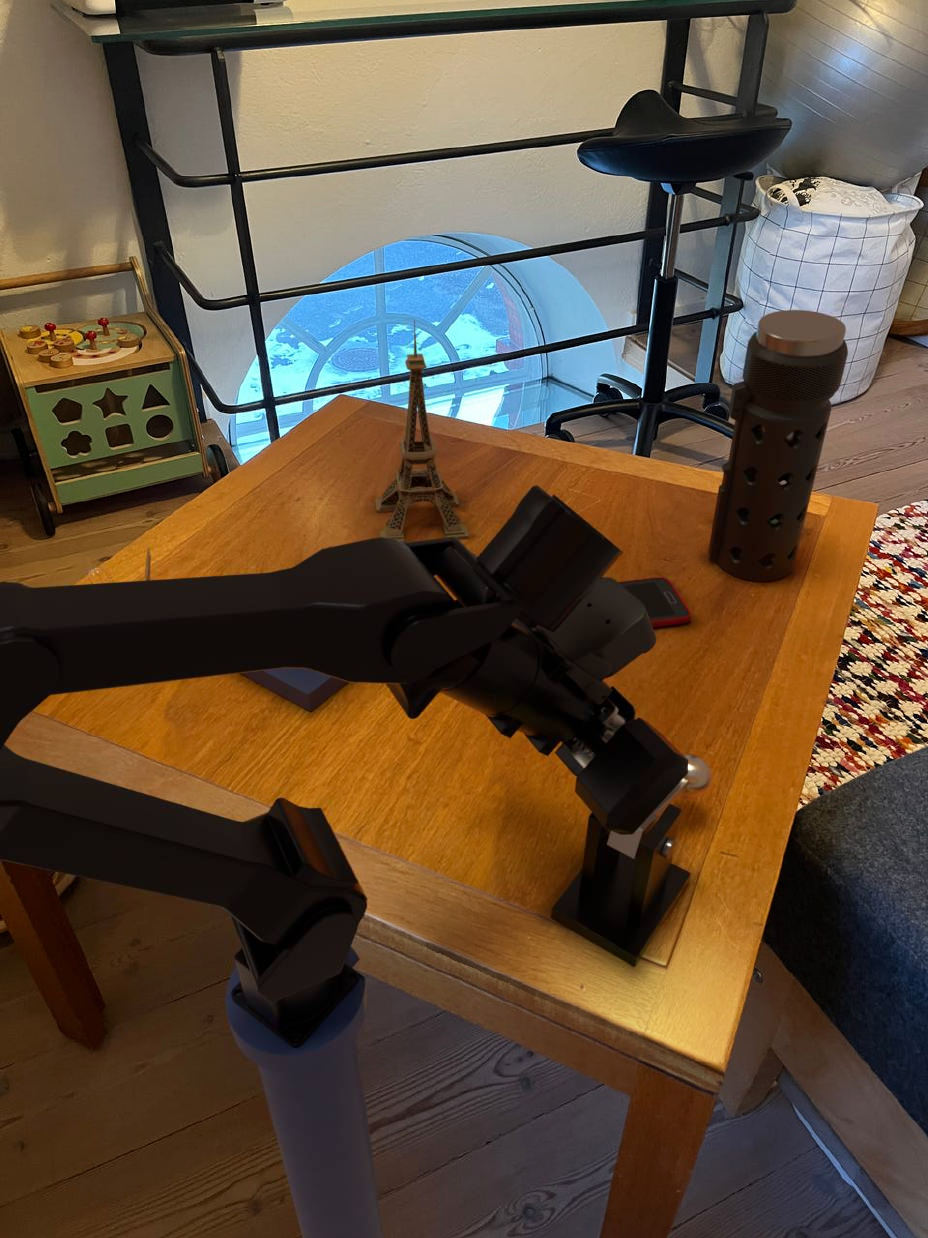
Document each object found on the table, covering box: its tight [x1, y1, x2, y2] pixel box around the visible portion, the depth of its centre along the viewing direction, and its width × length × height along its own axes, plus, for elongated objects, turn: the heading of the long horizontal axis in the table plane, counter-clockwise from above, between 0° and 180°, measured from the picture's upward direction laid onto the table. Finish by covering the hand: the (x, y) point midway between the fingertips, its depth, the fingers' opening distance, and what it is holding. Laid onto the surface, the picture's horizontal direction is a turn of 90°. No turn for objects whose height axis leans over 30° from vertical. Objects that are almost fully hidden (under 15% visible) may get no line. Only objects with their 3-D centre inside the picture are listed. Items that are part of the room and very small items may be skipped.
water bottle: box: [707, 309, 849, 582], centre depth 98 cm, size 10×28×10 cm
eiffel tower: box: [374, 319, 470, 543], centre depth 107 cm, size 11×11×25 cm
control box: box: [239, 668, 349, 712], centre depth 91 cm, size 12×10×4 cm
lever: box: [607, 752, 713, 859], centre depth 69 cm, size 14×4×4 cm, turn 144°
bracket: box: [550, 804, 692, 968], centre depth 66 cm, size 9×7×10 cm
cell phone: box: [617, 577, 692, 628], centre depth 98 cm, size 8×15×1 cm, turn 101°
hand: (628, 741), depth 66 cm, fingers closed
